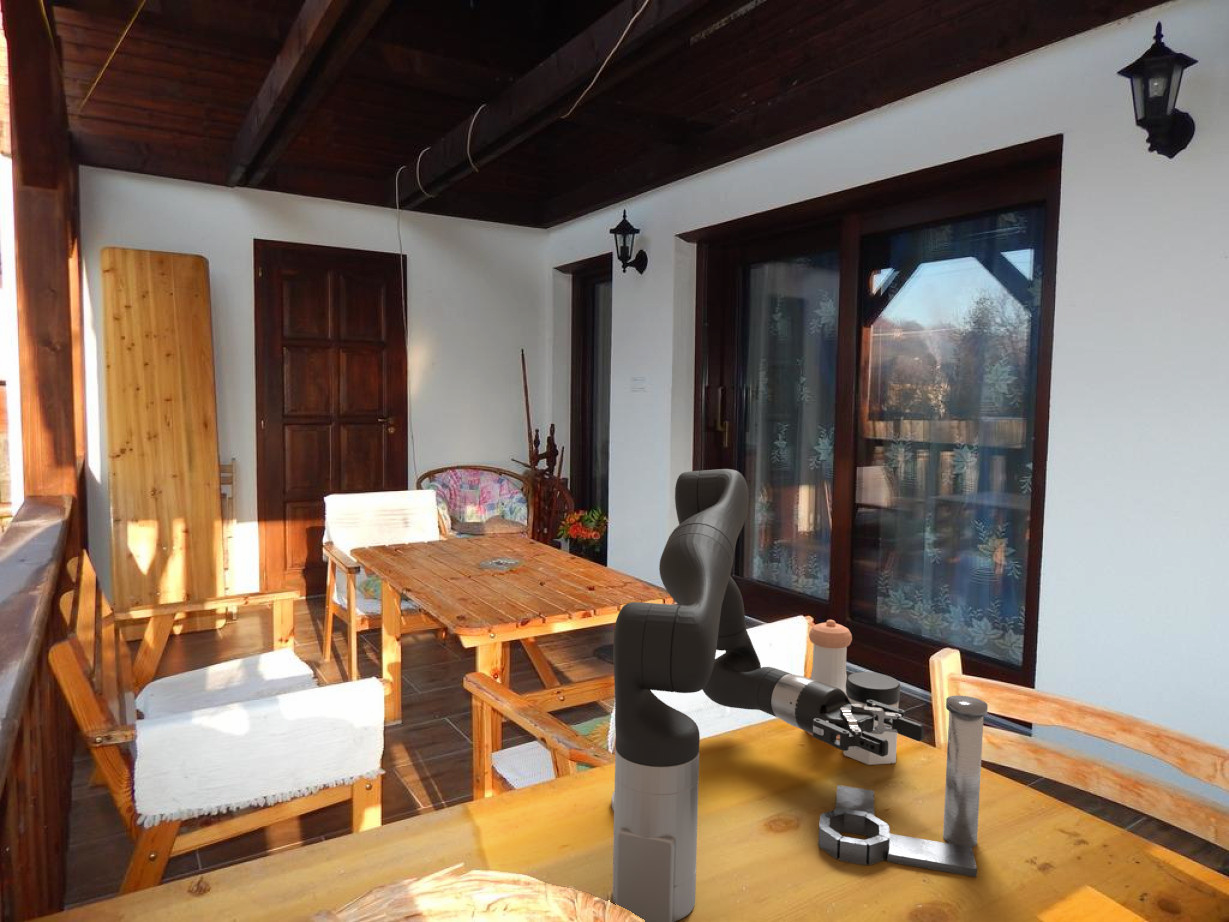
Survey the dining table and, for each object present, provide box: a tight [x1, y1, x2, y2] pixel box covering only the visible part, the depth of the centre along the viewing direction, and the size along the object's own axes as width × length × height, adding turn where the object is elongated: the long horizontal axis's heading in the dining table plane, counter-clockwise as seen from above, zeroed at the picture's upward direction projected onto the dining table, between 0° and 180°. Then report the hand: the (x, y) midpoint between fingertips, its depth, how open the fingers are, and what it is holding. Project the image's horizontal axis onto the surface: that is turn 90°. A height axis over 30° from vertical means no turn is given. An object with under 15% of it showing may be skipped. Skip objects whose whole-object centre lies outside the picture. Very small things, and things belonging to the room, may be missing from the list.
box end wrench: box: [817, 784, 978, 878], centre depth 106 cm, size 18×18×2 cm
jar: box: [843, 671, 901, 766], centre depth 129 cm, size 9×8×12 cm
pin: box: [942, 695, 988, 848], centre depth 104 cm, size 5×5×18 cm
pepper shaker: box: [805, 619, 853, 740], centre depth 138 cm, size 7×7×19 cm
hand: (905, 741), depth 110 cm, fingers open, 8 cm apart
